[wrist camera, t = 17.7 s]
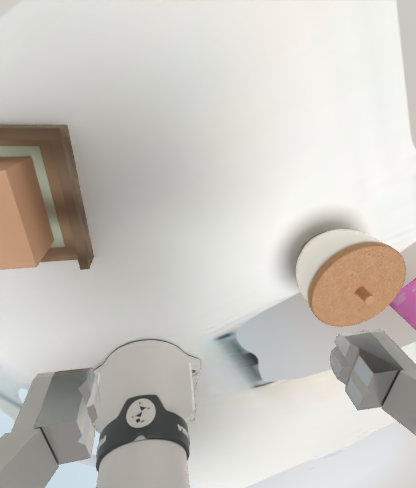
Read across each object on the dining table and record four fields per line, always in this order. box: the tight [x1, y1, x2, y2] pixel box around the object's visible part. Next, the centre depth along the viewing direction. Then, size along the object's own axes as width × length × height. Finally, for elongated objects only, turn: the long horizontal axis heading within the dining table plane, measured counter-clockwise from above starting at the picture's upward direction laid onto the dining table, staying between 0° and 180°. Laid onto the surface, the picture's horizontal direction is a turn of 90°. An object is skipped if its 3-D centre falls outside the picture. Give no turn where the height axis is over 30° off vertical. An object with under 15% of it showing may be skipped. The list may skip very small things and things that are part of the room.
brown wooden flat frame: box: [0, 125, 94, 270], centre depth 31 cm, size 16×12×3 cm
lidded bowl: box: [296, 229, 406, 327], centre depth 38 cm, size 13×13×11 cm
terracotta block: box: [0, 156, 54, 270], centre depth 29 cm, size 4×10×6 cm, turn 179°
